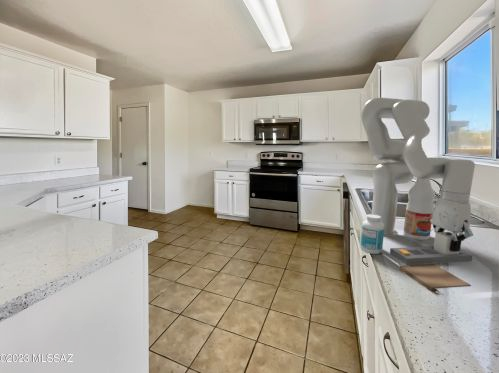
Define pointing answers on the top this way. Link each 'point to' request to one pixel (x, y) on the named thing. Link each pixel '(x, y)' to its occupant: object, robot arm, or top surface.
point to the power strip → (427, 255)
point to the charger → (444, 243)
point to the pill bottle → (372, 235)
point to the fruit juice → (419, 210)
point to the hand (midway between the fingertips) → (446, 246)
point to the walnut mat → (432, 276)
